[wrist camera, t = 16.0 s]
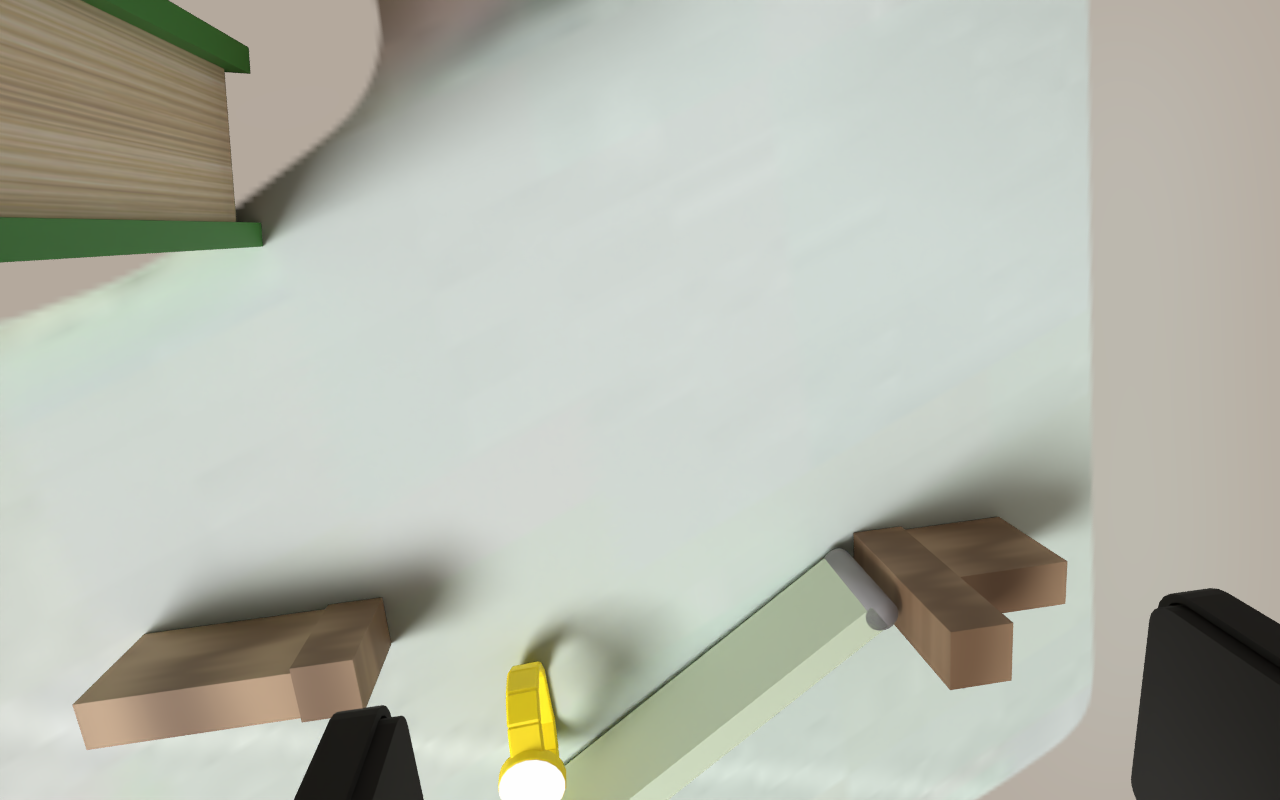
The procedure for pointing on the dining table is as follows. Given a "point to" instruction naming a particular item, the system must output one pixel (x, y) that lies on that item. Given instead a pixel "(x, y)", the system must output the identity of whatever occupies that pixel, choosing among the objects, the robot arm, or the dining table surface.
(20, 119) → the hardback book
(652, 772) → the pale green flat bar
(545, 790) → the watch
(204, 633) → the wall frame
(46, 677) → the dining table surface
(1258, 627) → the robot arm
